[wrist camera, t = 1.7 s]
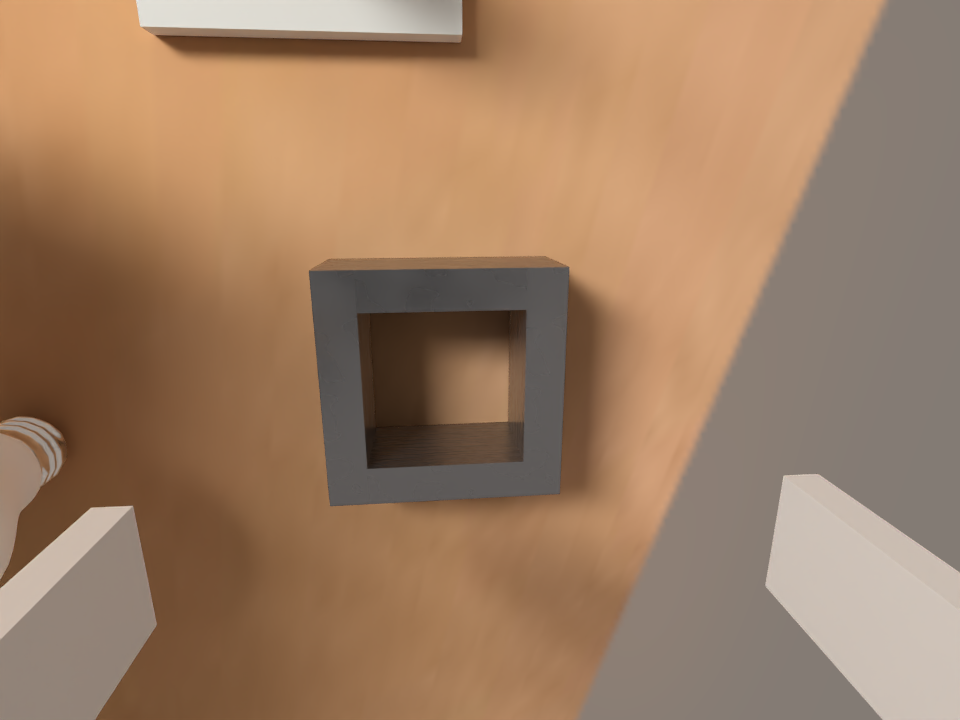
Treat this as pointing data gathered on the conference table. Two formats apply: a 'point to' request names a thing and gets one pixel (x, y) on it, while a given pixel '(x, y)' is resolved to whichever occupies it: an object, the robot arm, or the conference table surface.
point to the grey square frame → (453, 447)
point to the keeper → (306, 19)
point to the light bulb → (24, 471)
